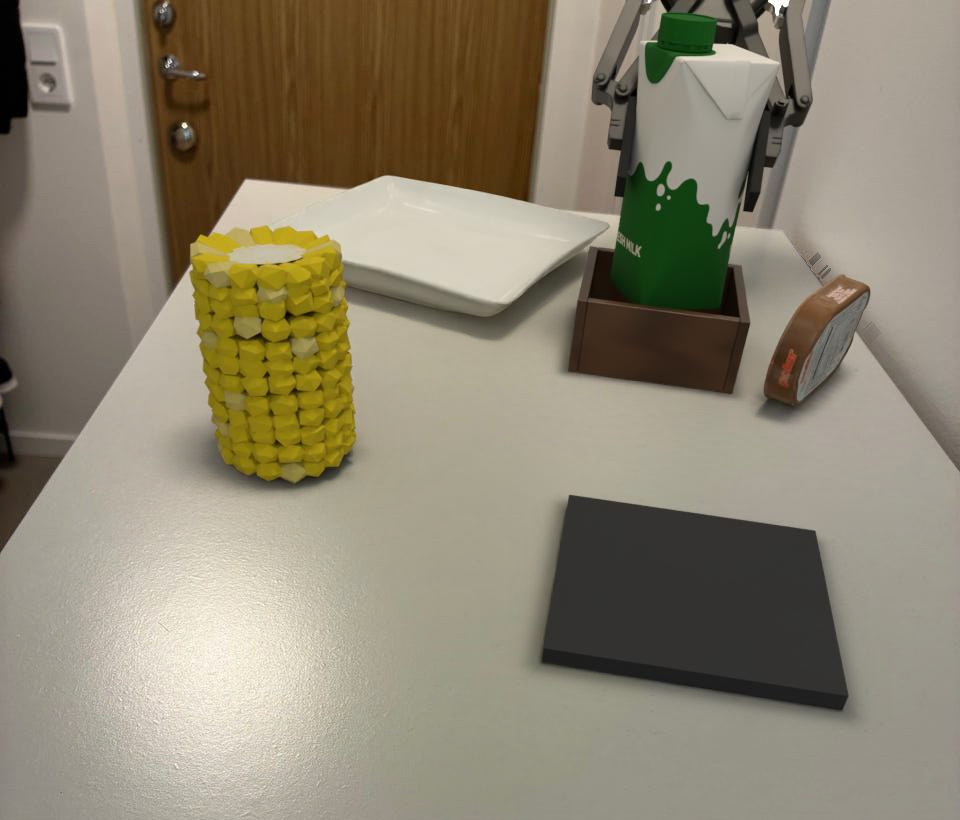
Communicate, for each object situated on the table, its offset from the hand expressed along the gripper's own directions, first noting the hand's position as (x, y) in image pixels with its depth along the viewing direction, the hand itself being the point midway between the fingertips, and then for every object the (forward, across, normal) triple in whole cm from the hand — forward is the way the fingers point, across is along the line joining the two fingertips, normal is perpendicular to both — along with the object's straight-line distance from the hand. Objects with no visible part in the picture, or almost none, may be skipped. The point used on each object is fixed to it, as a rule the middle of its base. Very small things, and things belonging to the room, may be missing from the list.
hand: (685, 194), depth 75 cm
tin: (+10, -13, -10) cm, 19 cm away
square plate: (-2, +22, -22) cm, 31 cm away
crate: (+7, 0, -12) cm, 14 cm away
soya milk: (+4, 0, -9) cm, 10 cm away
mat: (+33, -3, +13) cm, 36 cm away
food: (+26, +25, +6) cm, 37 cm away
